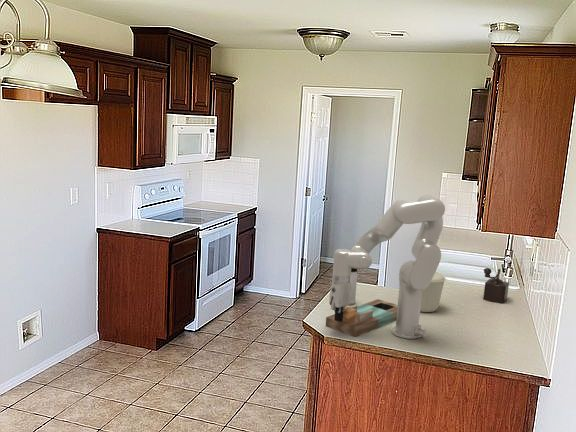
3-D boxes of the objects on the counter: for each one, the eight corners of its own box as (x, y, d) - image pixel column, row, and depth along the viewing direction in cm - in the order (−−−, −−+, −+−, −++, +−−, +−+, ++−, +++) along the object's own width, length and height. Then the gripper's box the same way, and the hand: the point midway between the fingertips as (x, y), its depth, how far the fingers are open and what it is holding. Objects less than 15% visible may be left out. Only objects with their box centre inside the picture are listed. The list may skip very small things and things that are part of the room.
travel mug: (345, 305, 275) (348, 265, 272) (340, 301, 282) (343, 262, 278) (357, 305, 277) (360, 265, 273) (352, 301, 283) (355, 262, 280)
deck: (405, 316, 266) (407, 301, 264) (355, 336, 237) (356, 320, 236) (377, 306, 276) (378, 293, 275) (325, 325, 248) (326, 310, 246)
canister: (449, 314, 272) (454, 271, 268) (416, 316, 266) (420, 272, 262) (429, 301, 289) (433, 261, 285) (397, 303, 283) (401, 262, 279)
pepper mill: (486, 294, 306) (489, 262, 303) (507, 299, 300) (511, 266, 297) (478, 302, 293) (482, 268, 290) (501, 306, 287) (505, 272, 284)
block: (354, 320, 245) (355, 309, 244) (347, 323, 241) (348, 312, 240) (345, 317, 248) (346, 306, 247) (338, 319, 244) (339, 308, 244)
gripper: (337, 284, 229) (334, 327, 232) (359, 277, 240) (356, 319, 243) (323, 279, 234) (320, 322, 237) (345, 273, 245) (342, 314, 248)
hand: (338, 320), depth 240 cm, fingers closed
